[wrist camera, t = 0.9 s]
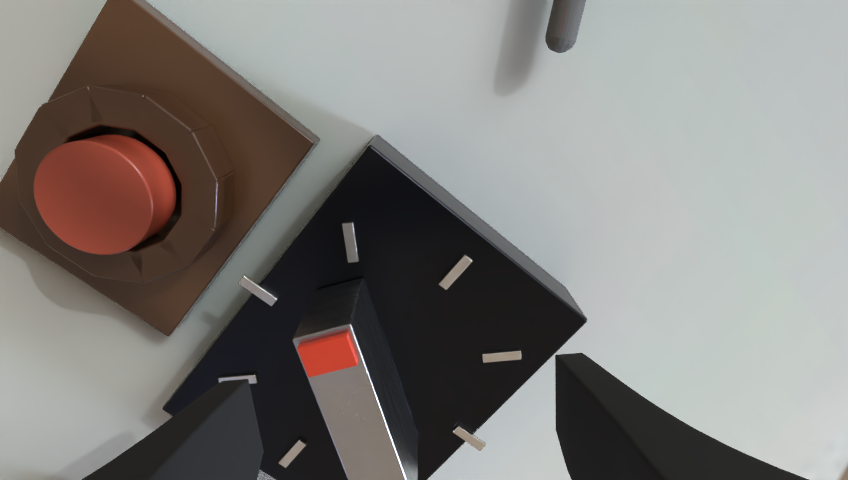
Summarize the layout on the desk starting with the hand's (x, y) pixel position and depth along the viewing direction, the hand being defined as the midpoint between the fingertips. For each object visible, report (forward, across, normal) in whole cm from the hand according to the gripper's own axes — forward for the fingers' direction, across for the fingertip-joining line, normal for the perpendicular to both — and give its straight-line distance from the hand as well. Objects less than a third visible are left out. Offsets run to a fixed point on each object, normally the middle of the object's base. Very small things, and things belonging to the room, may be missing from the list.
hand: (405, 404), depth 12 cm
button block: (+10, +9, -4) cm, 14 cm away
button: (+7, +9, -4) cm, 12 cm away
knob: (+7, +2, +3) cm, 7 cm away
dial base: (+10, +2, +3) cm, 10 cm away
